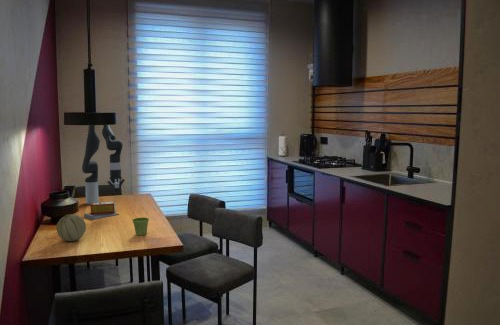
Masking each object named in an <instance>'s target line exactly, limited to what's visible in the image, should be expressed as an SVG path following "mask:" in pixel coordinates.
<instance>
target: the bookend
mask: <svg viewBox="0 0 500 325" xmlns="http://www.w3.org/2000/svg"><path fill="white" fill-rule="evenodd" d="M113 216H120V213H118V212H117V213H116V212H115V213H104V214H91V213H90V214H89V213H83V217H84V218H86V219H89V220H93V221H94V220H99V219H103V218H109V217H113Z"/></svg>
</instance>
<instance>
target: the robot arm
mask: <svg viewBox="0 0 500 325" xmlns="http://www.w3.org/2000/svg"><path fill="white" fill-rule="evenodd" d="M97 113H103V112H101V111H100V112H99V111H98V112H97ZM102 126H103V128H102V131H101V135H102V137H103V138H104V140H105V145H106V149H107V150H108V151H115V152H113V153H110V155H109V176H110V177H109V180H107V181H106V183H107V184H108V185H109V187H110V188H113V193H114V194H118V193H119V192H120V191H119V188H121V187H122V186H123V184H124V182H125V179H124V178H122V165H121V164H122V163H121V154H122V151H123V150H122V149H123V142H122V141H121V140H120V139H116V136H115V134H114V132H113V130H112V129H111V126H110V124H109V125H102ZM95 127H96V125H89V124H88V128H87V129H88V131H87V137H86V143H85V144H86V145H85V151H84V156H83V161H82V165H81V169H82V172H83V174H91V175H89V176H87V177H86V178H84V183H85V184H84V185H85V186H84V187H85V204H86V205H91V204H92V203H97V202H100V201H99V185H98V184H99V182H98V181H99V164H98V162H97V161H95V160H91V159H92V157H94V155H95V154H96V153H97V151H98V150H100V149H99V147H100V142H101V139H100V137H99V135H98V134H97V132H96V130H95Z"/></svg>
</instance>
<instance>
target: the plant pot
mask: <svg viewBox="0 0 500 325" xmlns="http://www.w3.org/2000/svg"><path fill="white" fill-rule="evenodd" d="M149 221H150V217H136V218H132V224H133V226H134V231H135V232H134V233H135V235H136V236H145V235H147V233H148V224H149Z"/></svg>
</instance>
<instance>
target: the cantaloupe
mask: <svg viewBox="0 0 500 325" xmlns="http://www.w3.org/2000/svg"><path fill="white" fill-rule="evenodd" d="M86 229H87V224H86V221H85V219H84V218H83V217H81V216H80V215H78V214H76V213H75V214H74V213H72V214H71V213H69V214H65V215H64V216H62V217H61V218H60V219H59V221H58V222H57V223H56V233H57V235H58V236H59V238H60V239H61V240H63V241H65V242H74V241H78V240H79V239H81V238H82V237H83V236H84V235H85V233H86Z"/></svg>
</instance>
